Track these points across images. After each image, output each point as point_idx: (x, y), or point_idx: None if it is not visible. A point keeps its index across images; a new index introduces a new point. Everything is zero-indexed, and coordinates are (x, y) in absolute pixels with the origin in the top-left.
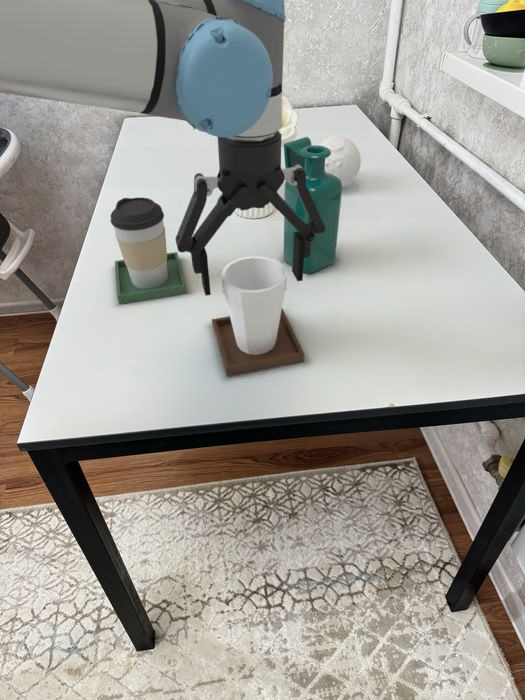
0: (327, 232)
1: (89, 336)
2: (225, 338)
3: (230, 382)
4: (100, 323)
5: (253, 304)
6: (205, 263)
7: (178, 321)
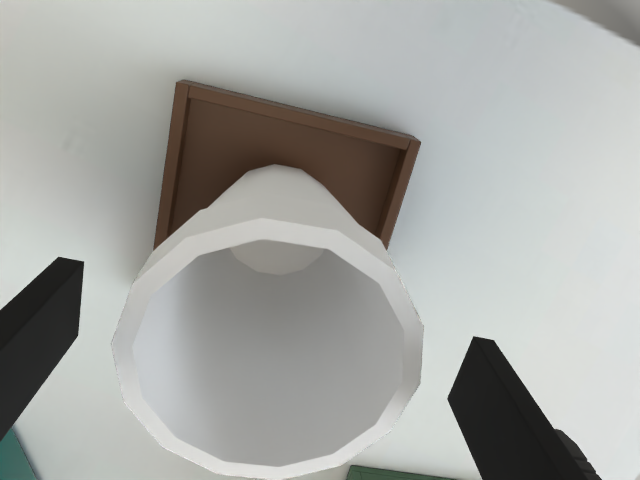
0: None
1: (615, 416)
2: None
3: (415, 111)
4: None
5: (341, 214)
6: (557, 455)
7: None
